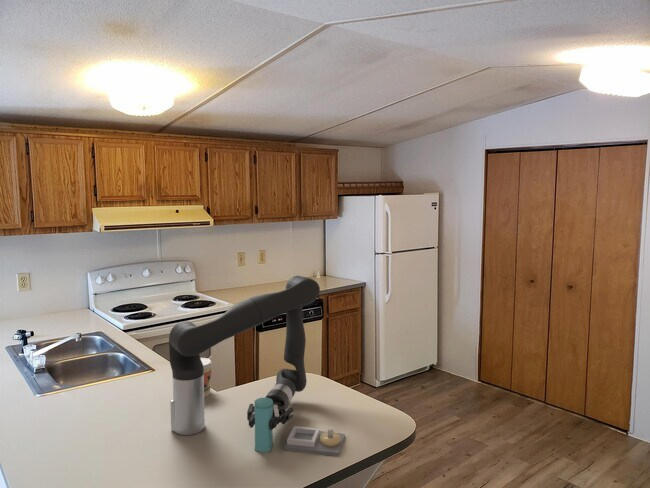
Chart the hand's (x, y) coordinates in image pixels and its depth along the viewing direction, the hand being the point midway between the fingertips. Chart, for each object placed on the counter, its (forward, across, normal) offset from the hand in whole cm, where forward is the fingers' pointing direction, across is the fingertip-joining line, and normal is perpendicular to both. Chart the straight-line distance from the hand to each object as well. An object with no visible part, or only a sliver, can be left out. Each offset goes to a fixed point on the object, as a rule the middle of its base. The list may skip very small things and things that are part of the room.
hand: (261, 425), depth 140 cm
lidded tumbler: (-3, 0, +8) cm, 8 cm away
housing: (-8, +14, +8) cm, 18 cm away
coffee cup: (-33, -34, +8) cm, 48 cm away
